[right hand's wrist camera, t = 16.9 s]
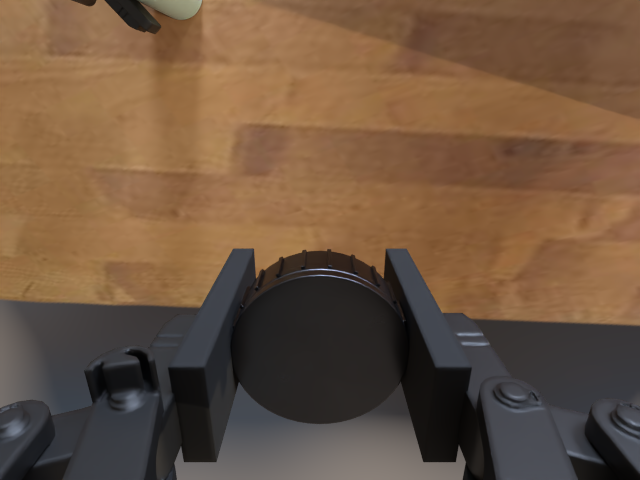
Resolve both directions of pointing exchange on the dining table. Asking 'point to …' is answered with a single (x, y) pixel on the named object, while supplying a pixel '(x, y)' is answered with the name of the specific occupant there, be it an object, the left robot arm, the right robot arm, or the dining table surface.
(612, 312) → the dining table surface
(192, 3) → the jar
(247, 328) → the lid
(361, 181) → the dining table surface
